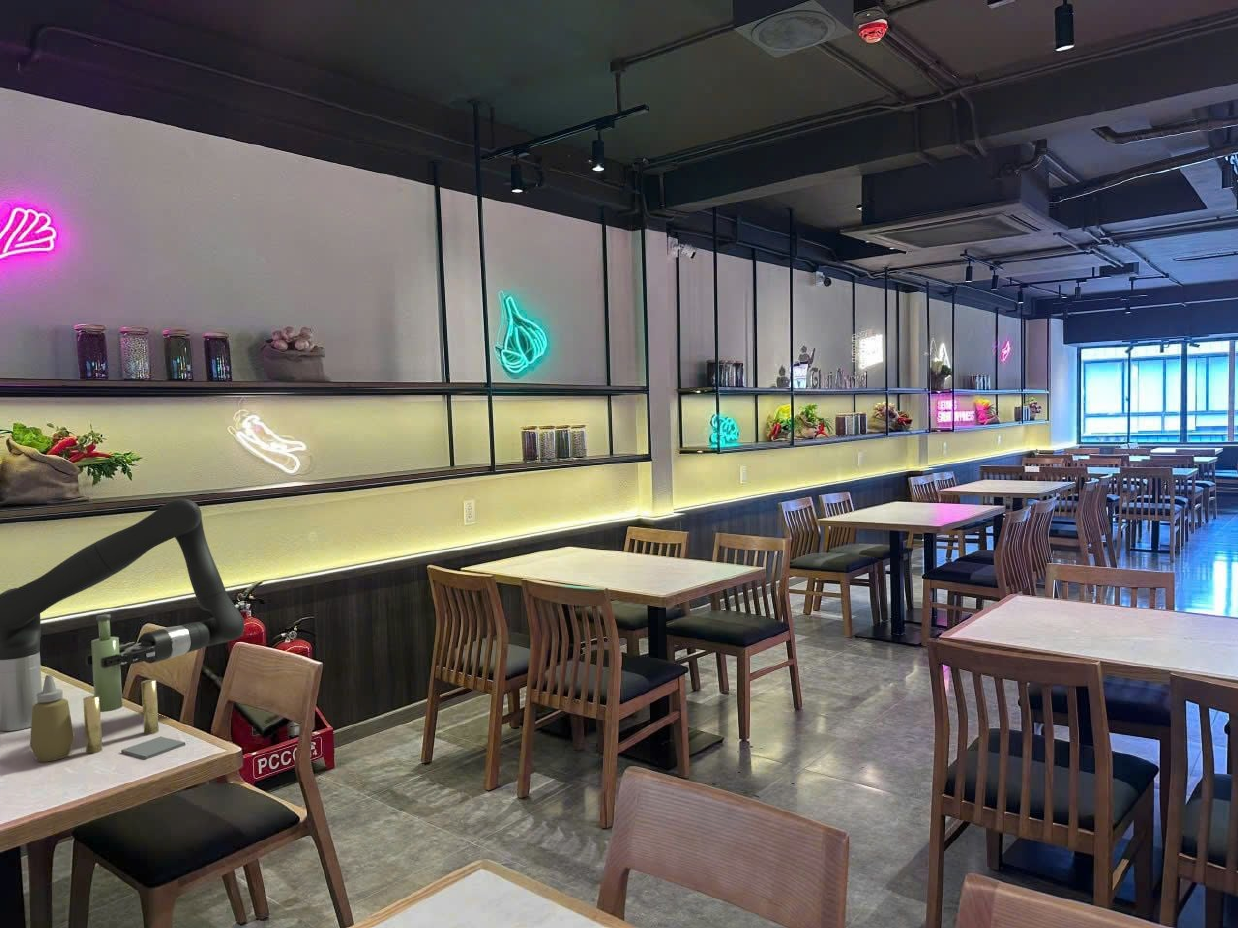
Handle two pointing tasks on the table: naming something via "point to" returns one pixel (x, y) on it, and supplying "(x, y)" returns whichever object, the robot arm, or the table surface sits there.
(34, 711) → the squeeze bottle
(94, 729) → the brass rod
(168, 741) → the grey coaster
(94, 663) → the olive bottle
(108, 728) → the table surface
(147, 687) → the brass rod
